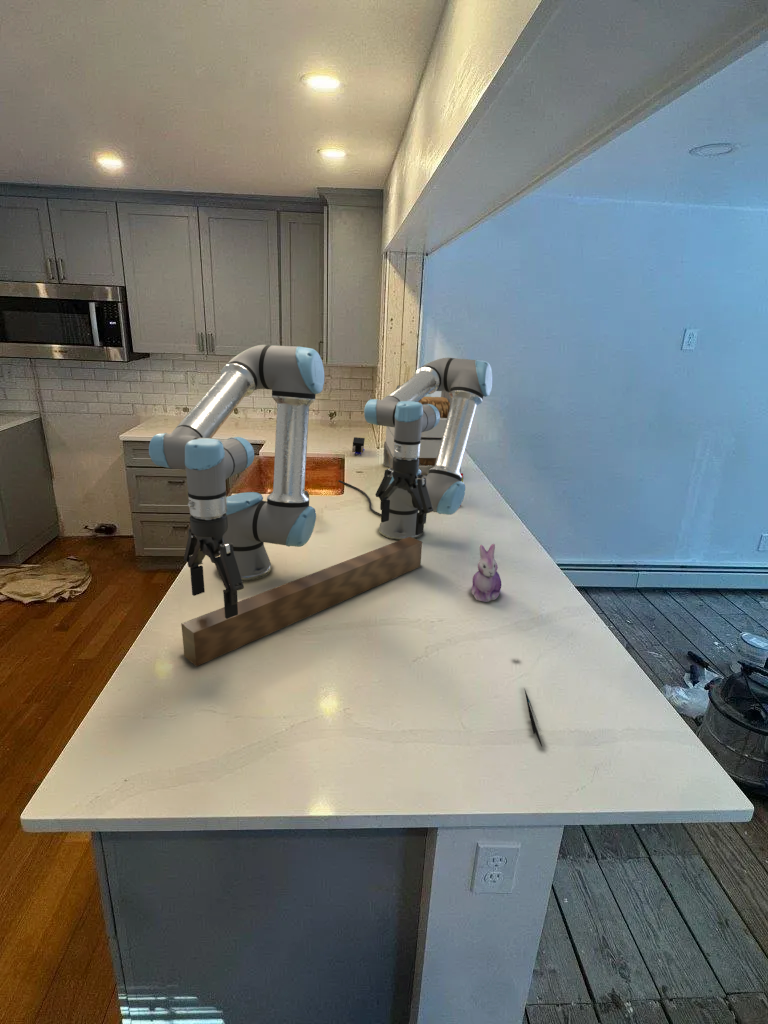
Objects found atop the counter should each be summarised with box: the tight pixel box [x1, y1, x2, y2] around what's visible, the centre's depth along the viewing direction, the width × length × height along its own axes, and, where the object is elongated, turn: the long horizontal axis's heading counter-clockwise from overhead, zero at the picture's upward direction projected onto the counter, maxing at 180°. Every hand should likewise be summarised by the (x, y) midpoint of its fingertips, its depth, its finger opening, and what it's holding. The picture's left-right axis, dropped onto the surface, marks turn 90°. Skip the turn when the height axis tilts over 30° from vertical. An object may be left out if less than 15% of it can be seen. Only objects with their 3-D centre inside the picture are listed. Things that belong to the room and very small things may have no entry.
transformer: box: [383, 384, 462, 473], centre depth 268 cm, size 34×33×41 cm
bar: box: [180, 537, 423, 667], centre depth 149 cm, size 76×5×8 cm, turn 137°
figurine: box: [471, 543, 502, 603], centre depth 157 cm, size 9×10×15 cm
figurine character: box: [351, 436, 365, 456], centre depth 305 cm, size 7×8×15 cm
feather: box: [515, 659, 545, 747], centre depth 116 cm, size 2×28×2 cm
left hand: (214, 604), depth 125 cm, fingers open, 13 cm apart
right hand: (401, 527), depth 167 cm, fingers open, 13 cm apart
